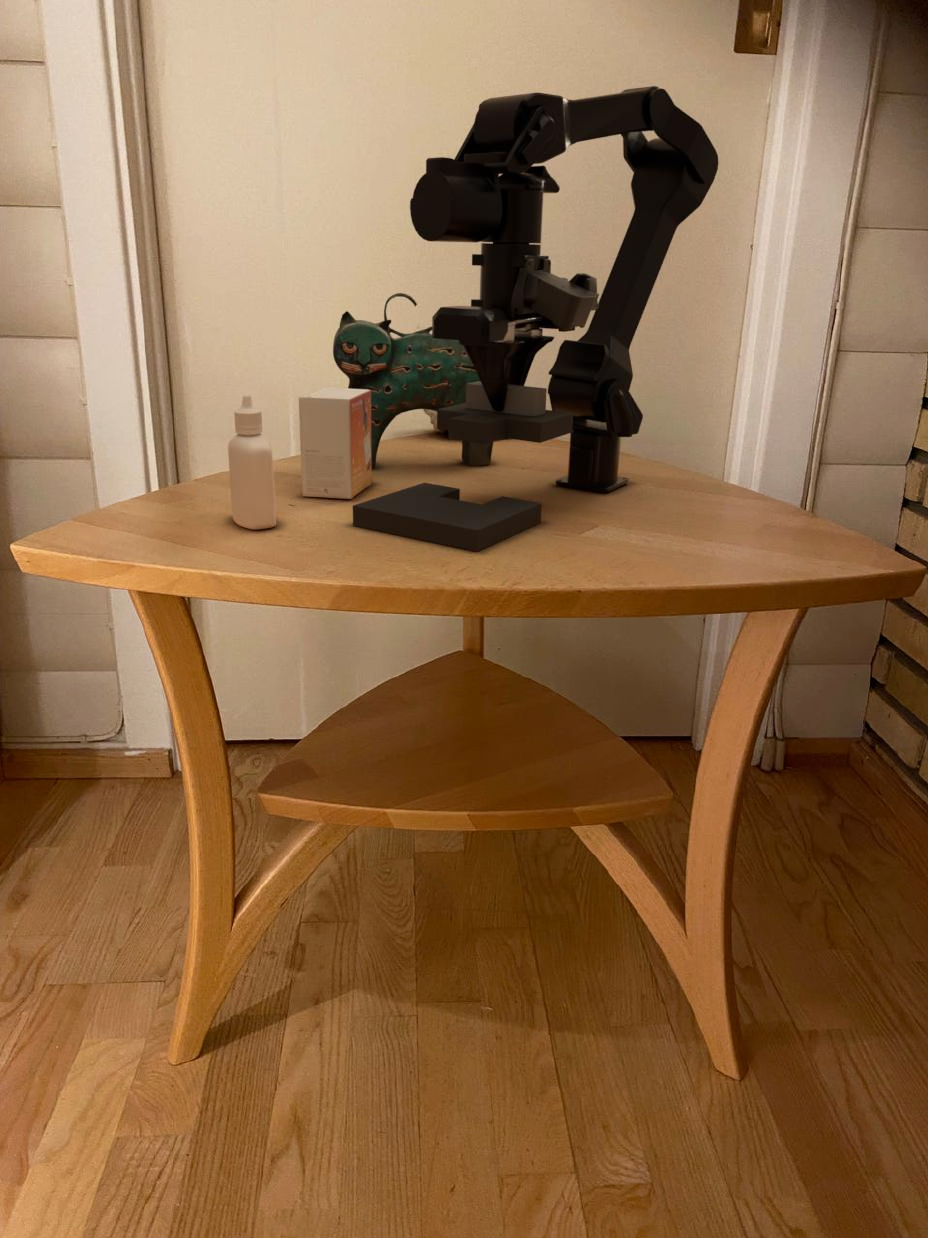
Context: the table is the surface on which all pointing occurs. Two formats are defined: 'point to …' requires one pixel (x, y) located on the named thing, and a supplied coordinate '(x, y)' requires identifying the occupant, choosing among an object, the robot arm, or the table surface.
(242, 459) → the eye dropper bottle
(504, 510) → the charcoal pad
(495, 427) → the dark grey stepped block
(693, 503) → the table surface
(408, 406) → the ceramic cat
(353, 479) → the small box
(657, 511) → the table surface
